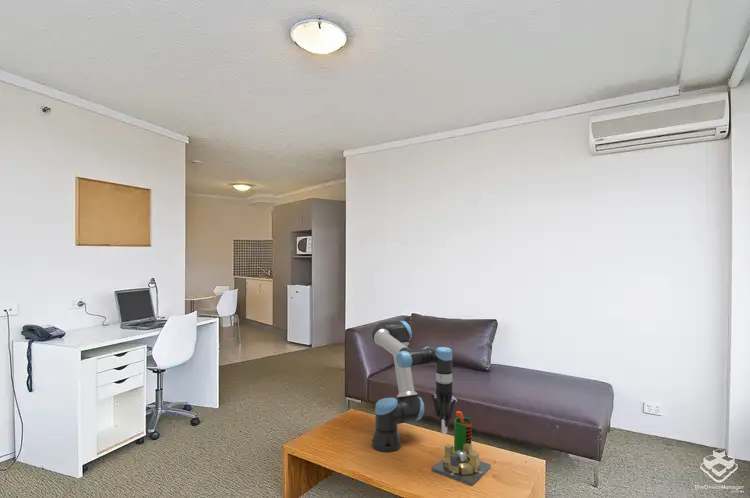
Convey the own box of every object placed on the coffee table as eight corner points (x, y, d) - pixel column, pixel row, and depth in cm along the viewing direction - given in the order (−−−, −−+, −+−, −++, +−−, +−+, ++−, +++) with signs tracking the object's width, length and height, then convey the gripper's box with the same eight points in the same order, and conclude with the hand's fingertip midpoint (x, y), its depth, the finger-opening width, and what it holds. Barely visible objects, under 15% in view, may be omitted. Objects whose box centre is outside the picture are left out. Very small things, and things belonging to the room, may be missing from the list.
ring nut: (437, 466, 190) (437, 451, 190) (453, 453, 203) (453, 439, 203) (469, 478, 180) (469, 461, 180) (484, 463, 193) (484, 448, 193)
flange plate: (431, 471, 190) (431, 453, 190) (452, 454, 206) (452, 438, 206) (472, 486, 178) (472, 467, 178) (490, 467, 193) (490, 450, 193)
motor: (472, 457, 203) (472, 417, 203) (453, 456, 204) (453, 415, 205) (471, 448, 213) (471, 409, 213) (454, 446, 214) (454, 408, 215)
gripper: (427, 381, 192) (428, 432, 191) (453, 386, 184) (453, 439, 183) (435, 377, 198) (436, 426, 197) (460, 382, 190) (461, 433, 189)
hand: (444, 432), depth 190 cm, fingers closed
